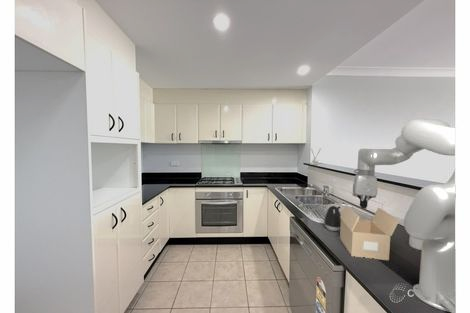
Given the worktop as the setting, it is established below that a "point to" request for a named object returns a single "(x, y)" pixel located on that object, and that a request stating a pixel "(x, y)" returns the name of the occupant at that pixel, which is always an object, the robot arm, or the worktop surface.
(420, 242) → the milk bottle
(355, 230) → the carton
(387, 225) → the right flap
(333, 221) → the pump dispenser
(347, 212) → the left flap
